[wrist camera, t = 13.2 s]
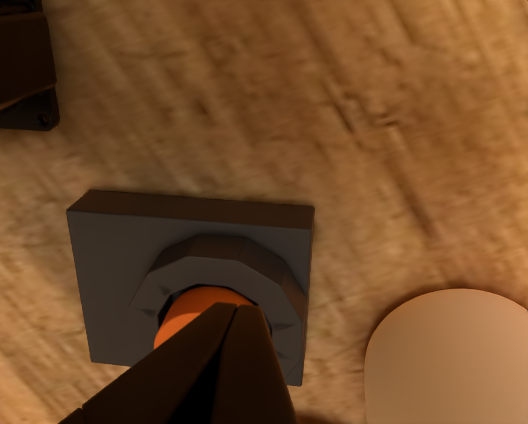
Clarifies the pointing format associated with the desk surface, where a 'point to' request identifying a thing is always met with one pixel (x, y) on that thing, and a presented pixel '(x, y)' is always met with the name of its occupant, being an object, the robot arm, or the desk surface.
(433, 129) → the desk surface
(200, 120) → the desk surface
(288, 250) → the switch base
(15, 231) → the desk surface
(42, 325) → the desk surface
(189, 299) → the switch
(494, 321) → the mug
